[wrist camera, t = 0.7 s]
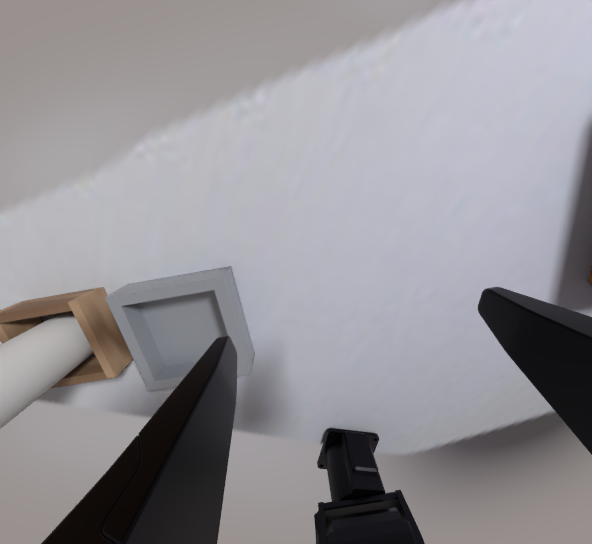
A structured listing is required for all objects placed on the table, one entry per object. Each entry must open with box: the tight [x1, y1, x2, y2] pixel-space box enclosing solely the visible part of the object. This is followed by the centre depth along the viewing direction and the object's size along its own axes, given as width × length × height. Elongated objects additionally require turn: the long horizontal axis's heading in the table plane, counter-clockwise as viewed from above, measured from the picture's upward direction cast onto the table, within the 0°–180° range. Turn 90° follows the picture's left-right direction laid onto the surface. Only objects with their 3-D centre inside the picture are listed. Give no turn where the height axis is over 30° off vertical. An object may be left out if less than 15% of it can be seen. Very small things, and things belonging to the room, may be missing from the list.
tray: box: [105, 266, 255, 391], centre depth 23 cm, size 10×10×3 cm
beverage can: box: [0, 312, 94, 429], centre depth 18 cm, size 5×5×12 cm
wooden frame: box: [0, 287, 133, 388], centre depth 22 cm, size 8×8×3 cm
